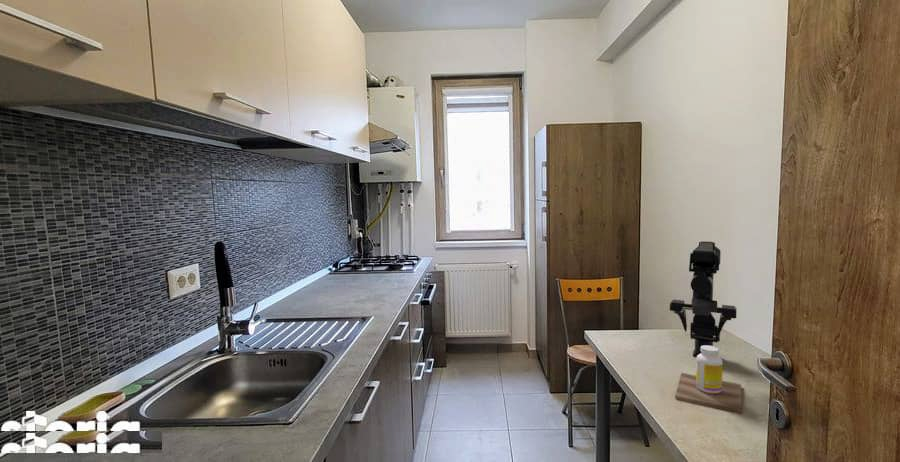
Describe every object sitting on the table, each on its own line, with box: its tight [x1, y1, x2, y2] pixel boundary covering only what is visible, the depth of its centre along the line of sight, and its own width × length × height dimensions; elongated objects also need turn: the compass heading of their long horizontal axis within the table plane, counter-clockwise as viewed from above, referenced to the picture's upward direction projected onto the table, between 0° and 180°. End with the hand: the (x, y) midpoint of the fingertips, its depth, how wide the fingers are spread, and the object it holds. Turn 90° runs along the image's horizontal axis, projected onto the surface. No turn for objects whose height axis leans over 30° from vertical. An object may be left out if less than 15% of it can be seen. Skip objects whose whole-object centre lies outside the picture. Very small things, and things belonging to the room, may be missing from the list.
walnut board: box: [674, 372, 743, 415], centre depth 125 cm, size 18×16×1 cm
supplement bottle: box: [695, 345, 724, 394], centre depth 124 cm, size 7×7×13 cm
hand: (701, 333), depth 138 cm, fingers open, 9 cm apart
